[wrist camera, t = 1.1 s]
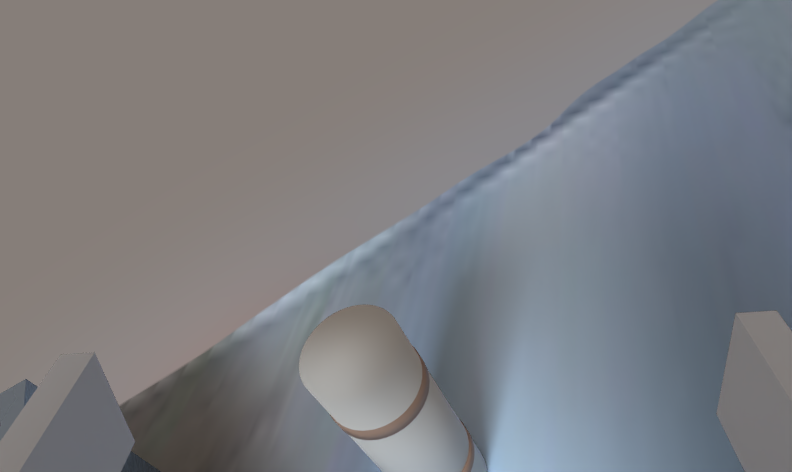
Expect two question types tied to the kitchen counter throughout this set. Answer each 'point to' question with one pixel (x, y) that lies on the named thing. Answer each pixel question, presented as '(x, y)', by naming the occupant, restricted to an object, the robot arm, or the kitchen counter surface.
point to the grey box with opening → (12, 401)
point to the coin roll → (385, 394)
